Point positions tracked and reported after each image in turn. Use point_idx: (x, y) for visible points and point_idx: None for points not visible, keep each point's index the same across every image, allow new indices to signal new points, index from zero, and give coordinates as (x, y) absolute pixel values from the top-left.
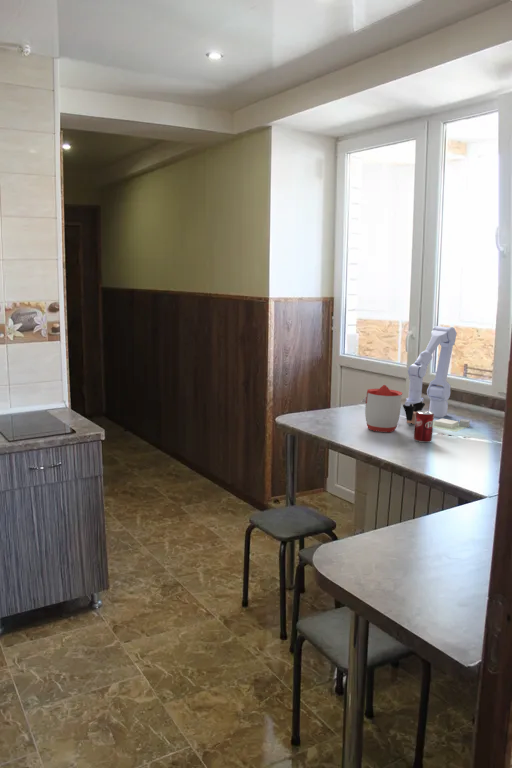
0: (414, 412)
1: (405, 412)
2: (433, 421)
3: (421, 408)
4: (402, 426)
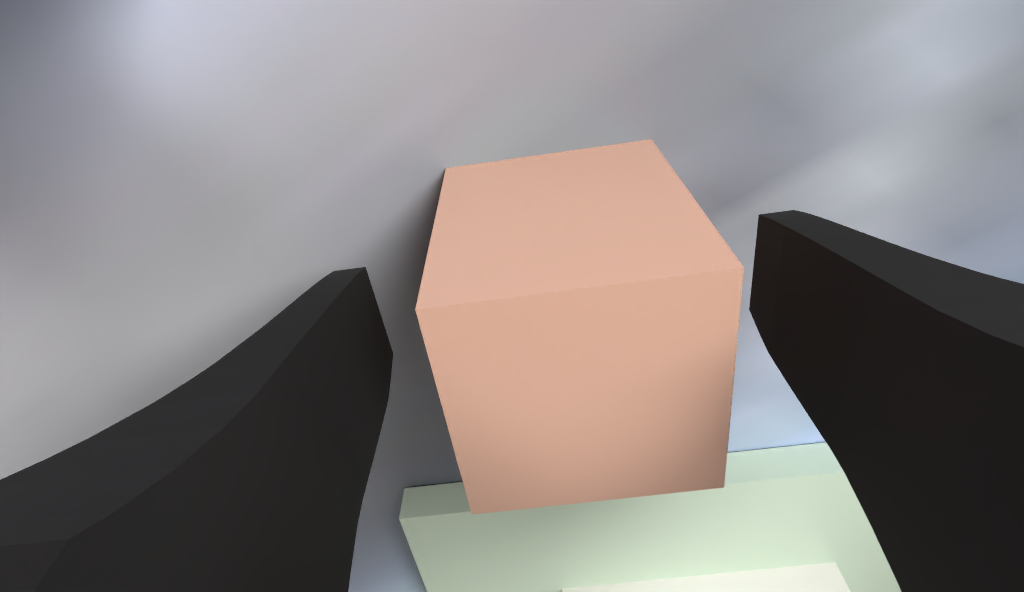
0: (593, 433)
1: (193, 381)
2: (817, 486)
3: (911, 571)
4: (93, 318)
